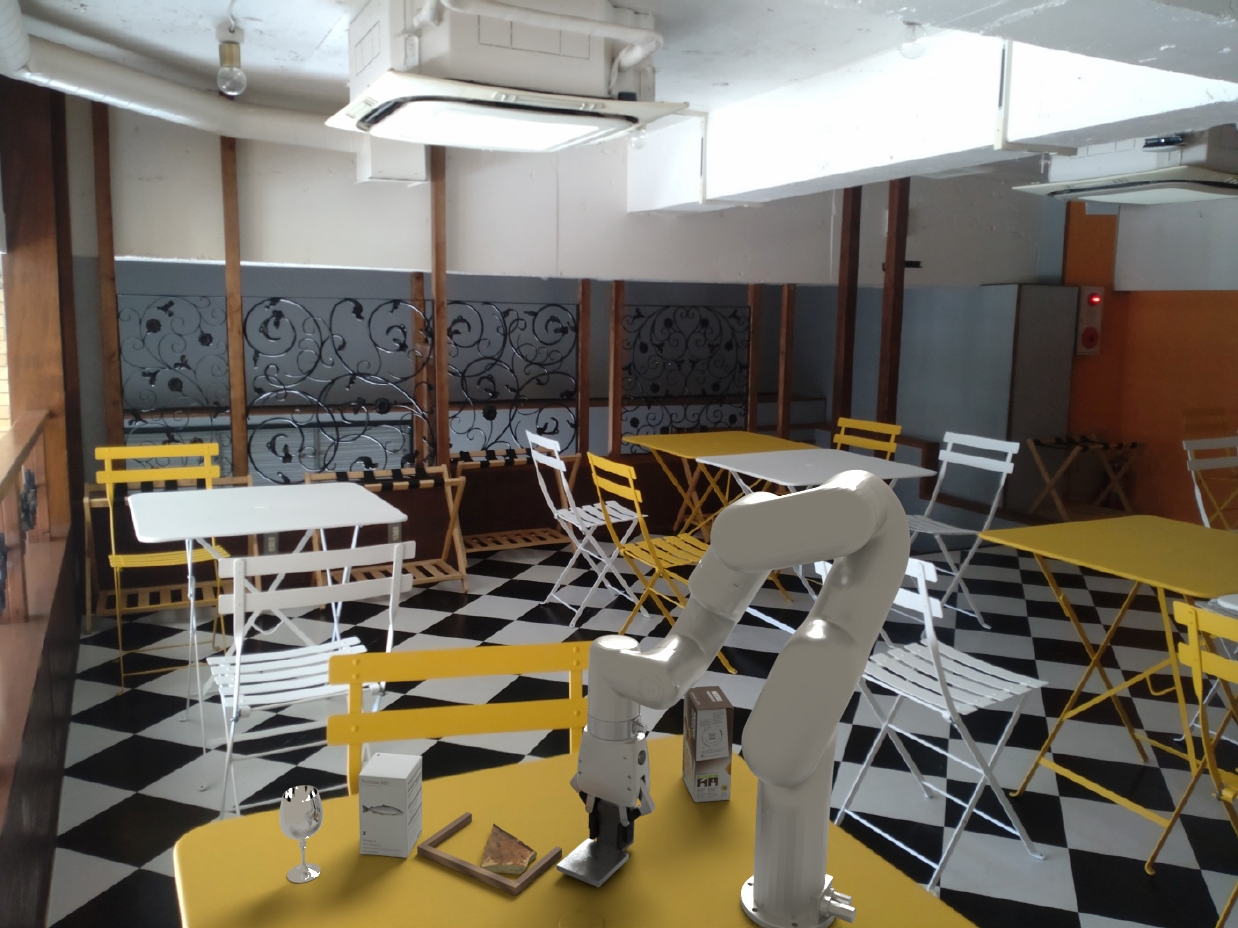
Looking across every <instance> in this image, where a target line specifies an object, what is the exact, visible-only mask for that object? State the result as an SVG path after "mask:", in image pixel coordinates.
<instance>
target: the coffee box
mask: <svg viewBox="0 0 1238 928" xmlns="http://www.w3.org/2000/svg"><path fill="white" fill-rule="evenodd" d="M683 697H684V698H683V699H684V700H683V730H682V731H683V735H682V736H683V738H682V739H683V740H682V769H681V770H682V773H681V774H682V775H681V777H682V780H683V781H684V783H685V785H686V787H687V790H688V792H689V794H690V796H691V798H692V800H693V802H694V803H702V802H703V803H704V802H715V801H716V802H718V801H728V800H730V799H731V791H732V790H731V785H732V784H731V783H732V766H733V765H732V760H733V739H734V737H733V736H734V734H733V733H734V712H735V711H734V710H735V707H734V705H733V704H732V703H731V701H730V699H729V698H728V697H727V695H726V694H725V693H724V692H723V690H722V689H721V687H720V686H719V685H709V686H707V685H706V686H704V685H703V686H696V687H691V688H690V689H689V690H688V692H687V693H686V694H685V695H684V696H683Z"/></svg>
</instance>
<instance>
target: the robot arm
mask: <svg viewBox="0 0 1238 928" xmlns="http://www.w3.org/2000/svg"><path fill="white" fill-rule="evenodd" d="M709 539H710V540H709V541H710V545H708V547H707V549H706V551H705V552H704V554H703V555H702V557H701V558H700V560H699V562H698V563H697V565H696V566H695V568H694V569H693V571H692V572H691V574H690V576H689V577H688V581H687V588H688V590H689V592H690V595H689V599H688V600H687V603H685V604H686V605H685V606H684V607H683V610H682V611H681V613H680V614H679V616H678V618H677V620H676V621H675V622H674V623H673V625H672V627H671V629H670V630H669V632H668V633H667V635H665V637H664V638H663V640H661V641H660V642H659V643H658V644H656V645H655V646H653V647H652V649H651V648H650V649H649V650H647V651H643V649H642V646H641V644H640V642H638V641H637V640H636V639H635V638H633V637H631V636H627V635H624V634H623V635H622V634H606V635H602V636H599V637H597V638H596V639H594V640H593V641H592V642H591V643H590V645H589V648H588V649H589V650H588V669H587V670H588V672H587V675H588V677H587V711H586V712H587V713H586V715H587V716H586V717H587V718H586V720H587V721H586V725H585V726H584V728H583V731H582V735H581V738H580V739H581V740H580V743H579V750H578V755H577V756H578V757H577V765H576V766H577V769H576V773H575V774H574V775H573V777H572V778H571V779H570V780H569V786H571V788H572V789H573V790H574V791H575V792H576V793H577V794H578V796H579V798H580V800H581V801H582V803H583V804H584V806H585V807H584V809H585V812H586V813H587V814H588V827H587V828H588V831H589V837H588V838H589V839H591V840H594V841H596V840H597V821H598V814H597V808H598V802H599V801H600V800H601V799H604V800H607V801H610V802H613V803H615V804H618V806H619V813H620V820H621V822H620V823H619V824H618V825H617V849H618V850H620V851H621V850H623V849H624V848H625V847H626V846H627V845H628V844H630V843H631V842H632V840H633V826H634V827H635V821H636V820H637V819H638V818H640V817H643V816H647V815H650V814H651V813H652V812H654V811H655V810H656V804H655V802H654V800H653V798H652V796H651V794H650V792H651V791H650V790H651V773H650V770H651V769H650V756H649V748H648V742H647V738H646V735H645V734H646V733H647V730H648V724H647V723H644V722H642V714H641V706H643V707H644V708H645V707H646V708H648V709H651V710H655V711H664V710H667V709H670V708H672V707H674V706H675V705H676V704H677V703H678V702H680V700H682V698H683V697H684V695H685V694H686V693H687V692H688V690H689V689H690V688H693V687H694V685H695V684H696V683H697V682H698V681H700V679H701V678H702V677H703V675H705V673H706V671H707V670H708V669H709V668H710V666H711V664H712V663H713V662H714V660H715V658H716V656H718V653H719V652H720V651H721V649H722V648H723V646H724V644H725V643H726V641H727V640H728V639H729V637H730V635H731V634H732V632H733V630H734V629H735V628H736V626H737V624H738V623H739V622H740V621H741V619H742V617H743V616H744V614H745V612H746V610H748V608H749V606H750V604H751V603H752V601H753V600H754V598H755V597H756V595H757V593H758V592H759V590H760V589H761V588H762V586H763V585H764V583H765V582H766V580H767V578H768V577H769V575H770V574H771V573H772V571H775V570H782V569H787V568H792V567H798V566H803V565H808V564H813V563H820V562H825V561H830V560H831V561H832V560H833V563H832V565H831V566H830V567H831V568H830V569H829V570H828V573H827V575H826V577H825V579H824V581H823V583H822V584H823V585H822V586H821V589H820V591H819V594H818V596H817V598H816V599H815V601H814V604H813V606H812V608H811V609H810V611H809V613H808V614H807V616H806V617H805V619H804V621H803V622H802V623H801V624H800V626H798V627H797V629H796V630H795V631H794V633H792V635H791V636H790V637H789V638H788V640H787V641H786V642H785V643H784V645H783V647H782V648H781V650H780V651H779V653H778V656H777V657H776V659H775V661H774V662H773V665H772V667H771V669H770V672H769V673H768V676H767V677H766V680H765V682H764V684H763V686H762V688H761V691H760V693H759V695H758V697H757V699H756V701H755V702H754V703H755V704H754V706H753V707H752V710H751V712H750V714H749V716H748V718H747V721H746V723H745V725H744V727H743V730H742V734H741V750H742V756H743V759H744V761H745V764H746V765H747V767H748V769H749V771H750V772H751V773H752V774H753V775H754V776H755V777H756V778H757V791H756V792H757V793H756V810H755V811H756V812H755V832H754V833H755V834H754V852H753V854H754V856H753V875H752V876H751V877H750V878H748V879H747V880H745V882H744V884H743V885H742V888H741V891H740V904H741V905H740V906H741V908H742V909H743V911H744V913H745V915H747V917H748V918H749V919H750V920H752V922H754V923H755V924H757V925H758V926H759V927H762V928H828V927H829V926H831V924H832V923H833V922H834V919H835V918H837V919H838V920H842V921H845V922H847V923H850V924H851V925H852V924H853V923H854V922H855V918H856V915H857V908H856V907H855V906H852V903H853V897H852V896H851V895H848V894H845V893H841V892H839V891H838V892H837V891H836V888H833V876H832V875H829V874H827V865H828V846H829V830H830V829H829V828H830V814H831V804H832V802H831V801H832V788H833V775H834V766H835V757H836V750H837V742H838V736H839V735H838V734H839V725H840V720H841V719H842V717H843V715H844V713H845V710H846V708H847V707H848V705H849V703H850V701H851V699H852V696H853V695H854V692H855V691H856V690H857V688H858V685H859V683H860V681H861V679H862V678H863V675H864V672H865V670H866V667H867V664H868V662H869V657H870V656H871V655H870V654H871V651H872V649H873V647H874V645H875V643H876V640H877V639H878V637H879V634H880V632H881V630H882V628H883V626H884V624H885V622H886V620H887V617H888V615H889V614H890V613H889V612H890V610H891V609H892V606H893V604H894V601H895V600H896V597H897V595H898V593H899V591H900V589H901V586H902V583H903V581H904V578H905V574H906V571H907V569H908V564H909V559H910V553H911V531H910V526H909V522H908V518H907V514H906V511H905V509H904V507H903V505H902V502H901V501H900V499H899V498H898V496H897V495H896V493H895V492H894V490H893V489H892V488H891V487H890V486H889V484H887V483H886V482H885V481H884V480H883V479H881V477H878V476H877V475H876V474H875V473H872V472H869V471H866V470H862V469H851V470H845V471H842V472H841V471H840V472H839V473H836V474H834V475H833V476H831V477H830V478H828V479H827V480H825V481H824V482H823V483H822V484H821V485H819V486H817V487H814V488H813V487H812V488H810V489H806V490H801V491H797V492H793V493H789V494H785V495H781V496H779V495H777V494H774V493H773V492H772V493H771V492H767V491H756V492H751V493H747V494H746V495H744V496H742V497H741V498H739V499H737V500H735V501H734V502H732V503H731V504H729V505H727V506H726V507H725V508H723V509H722V510H721V511H720V512H719V513H718V515H717V516H716V518H715V519H714V521H713V523H712V526H711V530H710V538H709ZM637 801H639V802H640V804H638V805H637Z"/></svg>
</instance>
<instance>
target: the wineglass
mask: <svg viewBox="0 0 1238 928" xmlns="http://www.w3.org/2000/svg"><path fill="white" fill-rule="evenodd" d="M323 807H324V806H323V803H322V799H321V796H320V793H319V790H318V788H316V787H315V786H312V785H305V784H304V785H297V786H294V787H291V788H289V789H287V790H286V791H284V793H283V795H282V796H281V802H280V807H279V814H278V818H279V819H278V820H279V821H278V822H279V827H280V830H281V832H282V834H283V835H284V836H285V837H287V838H288V839H291V840H296V841H298V846H299V849H300V853H301V863H300V864H298V865H295V866H293V867H292V868H290V869H289V870H288V871H287V874H286V879H287V880H288V881H289V882H291V883H297V884H303V883H307V882H311V881H313V880H314V879H316V878H317V877H318V876H319V875H320V874H321V867H320V866H319V865H318V864H317V863H314V862H313V863H311V862H306V854H305V853H306V847H307V840H306V839H309V838H311V837H313V836H314V835H315V834H316V833H317V832H319V830H320V828H321V827H322V826H323V825H322V824H323V821H324V808H323Z"/></svg>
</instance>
